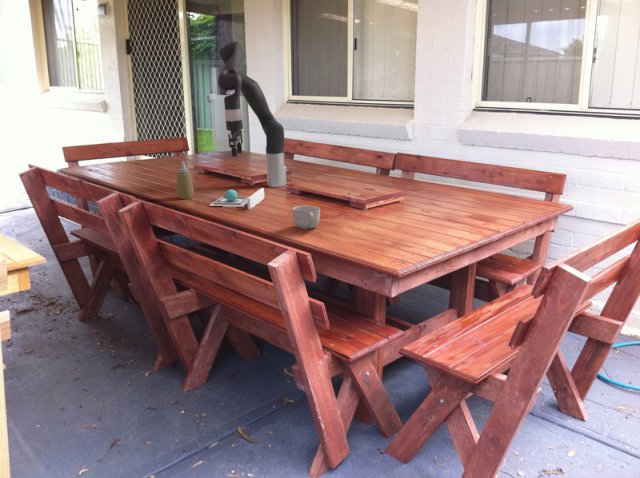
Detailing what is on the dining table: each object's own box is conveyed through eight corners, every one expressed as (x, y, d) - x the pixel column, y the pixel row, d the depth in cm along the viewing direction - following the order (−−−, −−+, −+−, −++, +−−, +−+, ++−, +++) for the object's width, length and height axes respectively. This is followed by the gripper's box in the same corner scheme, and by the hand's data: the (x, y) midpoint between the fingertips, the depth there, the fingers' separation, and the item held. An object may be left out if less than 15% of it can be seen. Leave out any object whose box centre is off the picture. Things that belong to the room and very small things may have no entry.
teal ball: (232, 199, 282) (231, 187, 281) (239, 200, 279) (239, 189, 277) (223, 201, 279) (222, 189, 277) (230, 203, 275) (230, 191, 273)
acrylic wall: (261, 198, 287) (261, 187, 286) (264, 198, 287) (263, 187, 285) (247, 209, 267) (247, 198, 265) (250, 209, 266) (249, 198, 265)
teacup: (292, 224, 241) (291, 205, 239) (319, 223, 242) (319, 203, 239) (294, 234, 228) (293, 213, 225) (322, 232, 229) (322, 212, 226)
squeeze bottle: (197, 196, 294) (194, 160, 289) (189, 200, 287) (185, 162, 281) (183, 195, 296) (179, 159, 291) (174, 199, 289) (170, 162, 284)
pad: (221, 198, 288) (221, 195, 288) (253, 199, 285) (253, 196, 285) (209, 206, 273) (208, 203, 273) (242, 207, 270) (242, 204, 270)
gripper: (230, 117, 279) (233, 152, 284) (221, 121, 266) (224, 157, 271) (245, 117, 278) (249, 152, 283) (237, 120, 265) (240, 157, 270)
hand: (237, 154), depth 277 cm, fingers open, 8 cm apart
